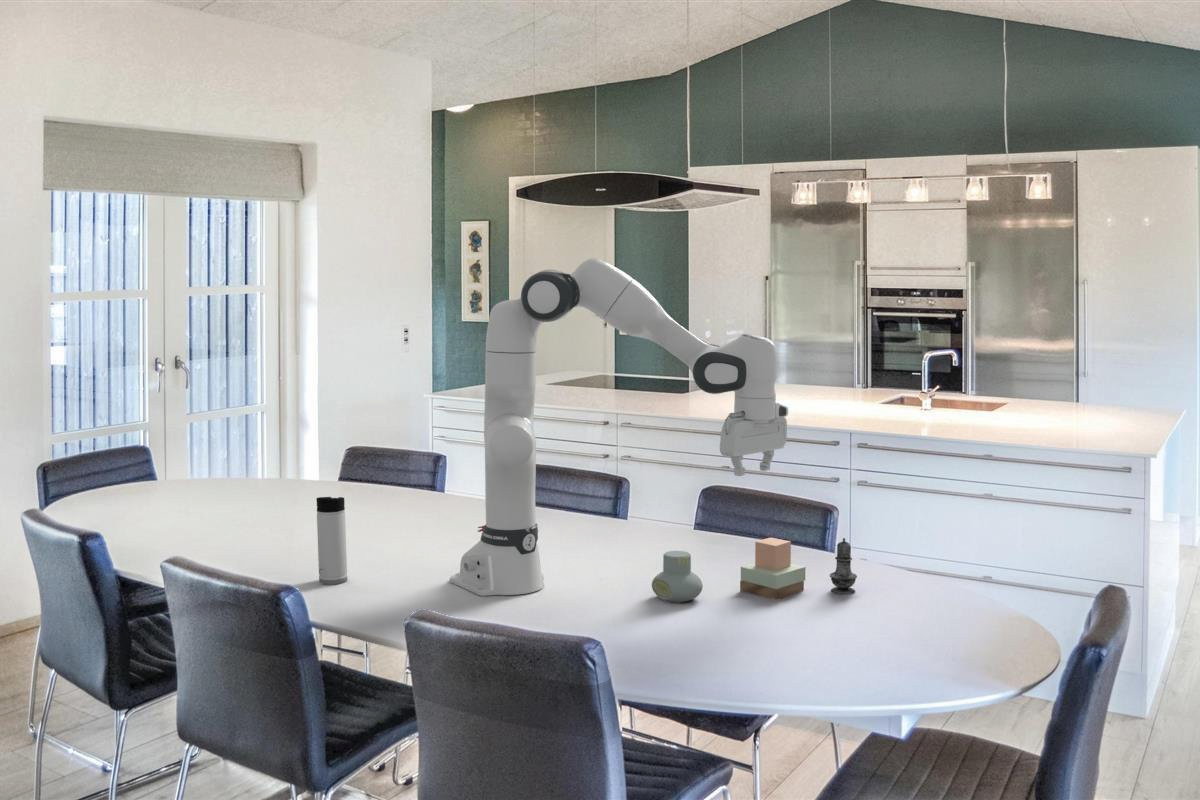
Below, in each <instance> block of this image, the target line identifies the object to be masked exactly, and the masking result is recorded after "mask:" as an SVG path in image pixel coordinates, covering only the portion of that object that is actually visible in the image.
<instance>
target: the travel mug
mask: <svg viewBox="0 0 1200 800" xmlns="http://www.w3.org/2000/svg"><path fill="white" fill-rule="evenodd" d="M316 528H317V533H316V534H317V551H318V553H317V555H318V556H317V559H318V580H319V582H318V583H320V584H321V585H325V586H326V585H327V586H328V585H329V586H330V585H332V586H333V585H340V584H344V583H346V582H347V581H348V562H347V561H348V559H347V558H348V557H347V535H346V534H347V531H346V528H347V527H346V507H345V497H342V496H338V497H332V496H319V497H316Z"/></svg>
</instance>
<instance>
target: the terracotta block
mask: <svg viewBox="0 0 1200 800" xmlns="http://www.w3.org/2000/svg"><path fill="white" fill-rule="evenodd" d="M754 543H755V550H754V551H755V552H754V553H755V555H754V557H755V558H754V563H755V566H757V567H761V568H766V569H770V570H774V571H776V570H779V569H783V568H786V567H789V566H791V564H792V562H791V561H792V560H791V558H792V551H791V549H792V542H791V540H784V539H780V538H775V537H767V538H764V539H763V538H762V539H759V540H755V542H754Z"/></svg>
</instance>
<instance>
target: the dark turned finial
mask: <svg viewBox="0 0 1200 800" xmlns="http://www.w3.org/2000/svg"><path fill="white" fill-rule="evenodd" d="M836 547H837V548H836V556H835V561H836V568H835V571H834V572H831V573H830V574H829V577H830V581H831V582H832V584H833V585H834V587H832V588H831V589H830V592H831V593H833V594H836V595H844V596H845V595H847V596H848V595H854V594H855V593H856V590H855V589H853V587H852V586H854V585H855V583H856V579H857V578H858V574H856V573H853V572H852V568H851V561H852V560H853V558H852V557H851V551H852V550H851V544H850V543H849V542H847V541H846V538H845V537H843V538H842V541H840V542H838V543H837V545H836Z"/></svg>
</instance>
